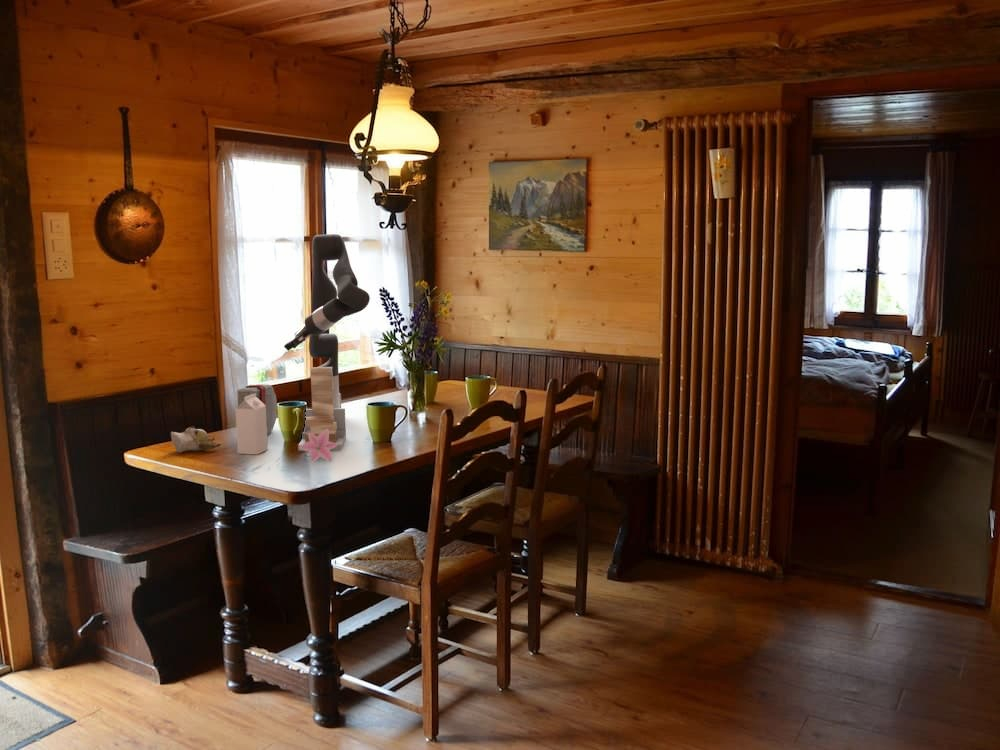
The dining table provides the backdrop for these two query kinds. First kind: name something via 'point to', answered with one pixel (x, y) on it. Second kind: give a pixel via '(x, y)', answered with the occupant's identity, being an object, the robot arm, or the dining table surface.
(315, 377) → the wooden plank
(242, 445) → the milk carton
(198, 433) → the ceramic sculpture
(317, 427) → the offcut stack
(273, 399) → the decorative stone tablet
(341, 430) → the slot rack
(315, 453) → the lily
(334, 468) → the dining table surface
